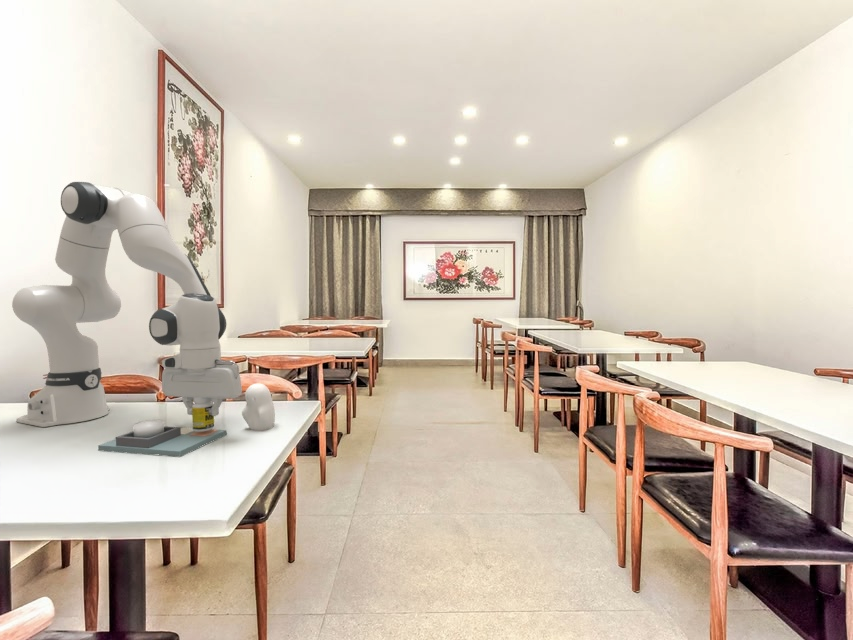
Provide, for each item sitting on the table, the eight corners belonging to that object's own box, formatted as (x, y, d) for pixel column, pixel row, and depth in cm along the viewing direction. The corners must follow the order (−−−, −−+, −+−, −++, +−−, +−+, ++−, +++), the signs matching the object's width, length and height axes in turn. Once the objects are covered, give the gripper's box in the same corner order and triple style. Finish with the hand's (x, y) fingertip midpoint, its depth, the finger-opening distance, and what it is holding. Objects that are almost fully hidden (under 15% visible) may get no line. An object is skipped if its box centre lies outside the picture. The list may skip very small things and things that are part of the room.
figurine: (239, 430, 108) (237, 385, 108) (259, 422, 116) (257, 379, 115) (262, 432, 106) (260, 386, 106) (281, 424, 113) (279, 380, 113)
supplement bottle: (207, 432, 101) (206, 398, 100) (188, 432, 101) (187, 398, 100) (218, 426, 105) (217, 393, 105) (200, 426, 105) (198, 393, 105)
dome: (127, 443, 96) (126, 425, 96) (149, 435, 102) (149, 417, 101) (149, 445, 94) (148, 426, 94) (170, 436, 100) (169, 418, 100)
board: (98, 450, 95) (97, 436, 95) (154, 430, 110) (153, 418, 110) (179, 456, 90) (179, 442, 90) (226, 434, 105) (226, 422, 105)
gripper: (246, 358, 103) (248, 413, 104) (176, 356, 107) (178, 409, 108) (229, 362, 97) (231, 420, 98) (155, 360, 101) (158, 416, 102)
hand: (203, 414), depth 103 cm, fingers closed on supplement bottle, 5 cm apart
